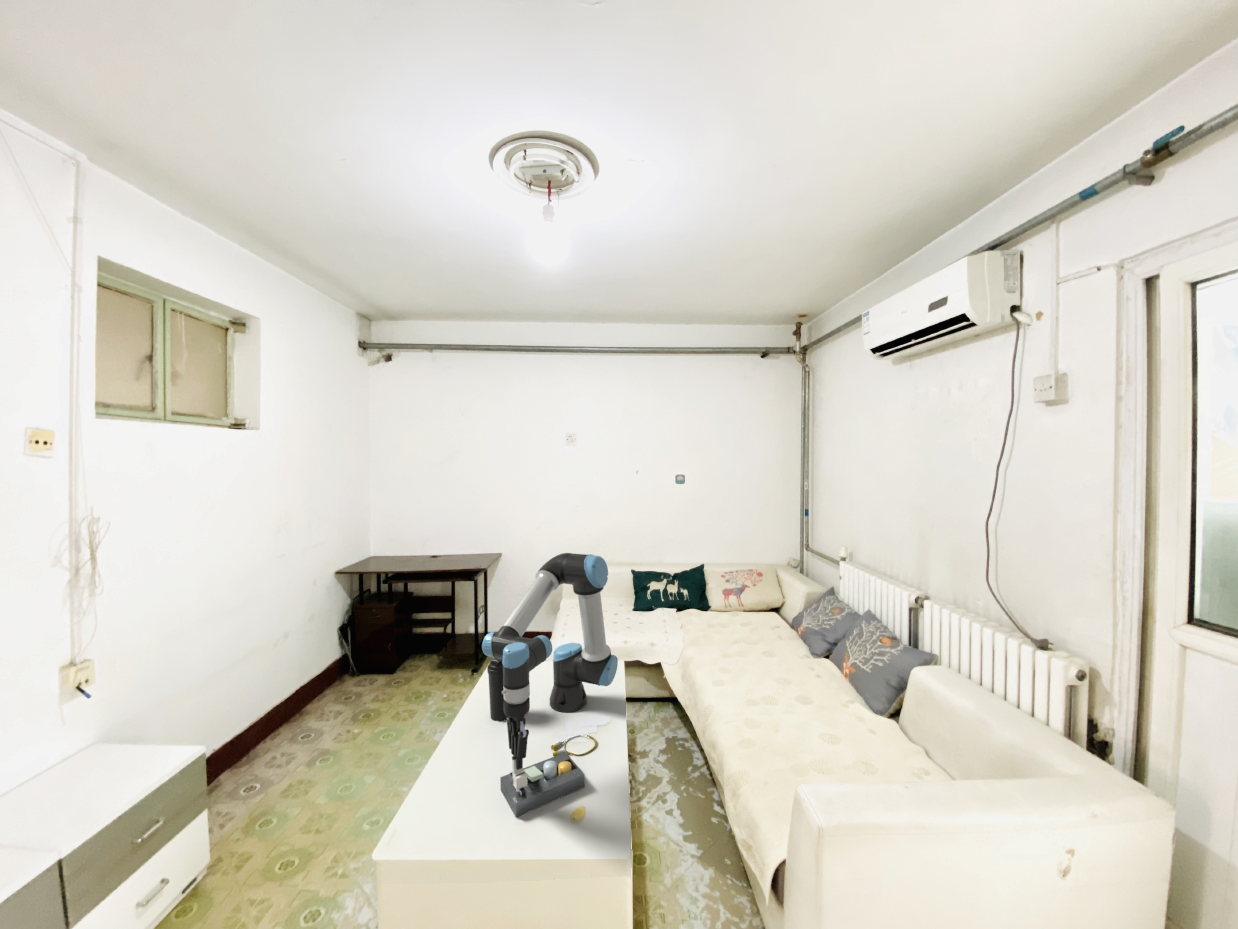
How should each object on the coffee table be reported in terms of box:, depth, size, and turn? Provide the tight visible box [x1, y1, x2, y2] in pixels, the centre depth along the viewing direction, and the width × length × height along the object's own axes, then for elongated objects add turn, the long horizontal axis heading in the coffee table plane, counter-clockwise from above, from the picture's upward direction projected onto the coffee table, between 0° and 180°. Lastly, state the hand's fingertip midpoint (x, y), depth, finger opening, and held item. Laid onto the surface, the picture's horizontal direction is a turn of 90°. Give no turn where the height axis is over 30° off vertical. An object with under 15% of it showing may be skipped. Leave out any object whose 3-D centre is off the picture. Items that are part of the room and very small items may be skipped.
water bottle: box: [486, 658, 507, 722], centre depth 186 cm, size 10×10×23 cm
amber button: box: [558, 761, 571, 776], centre depth 149 cm, size 4×4×4 cm
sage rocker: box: [524, 766, 543, 782], centre depth 144 cm, size 4×7×1 cm, turn 32°
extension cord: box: [550, 734, 597, 757], centre depth 166 cm, size 12×16×2 cm
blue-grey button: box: [543, 761, 557, 781], centre depth 147 cm, size 4×4×4 cm
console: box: [499, 752, 586, 818], centre depth 145 cm, size 22×13×5 cm, turn 122°
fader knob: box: [513, 770, 527, 790], centre depth 139 cm, size 3×2×3 cm
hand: (517, 777), depth 140 cm, fingers closed
